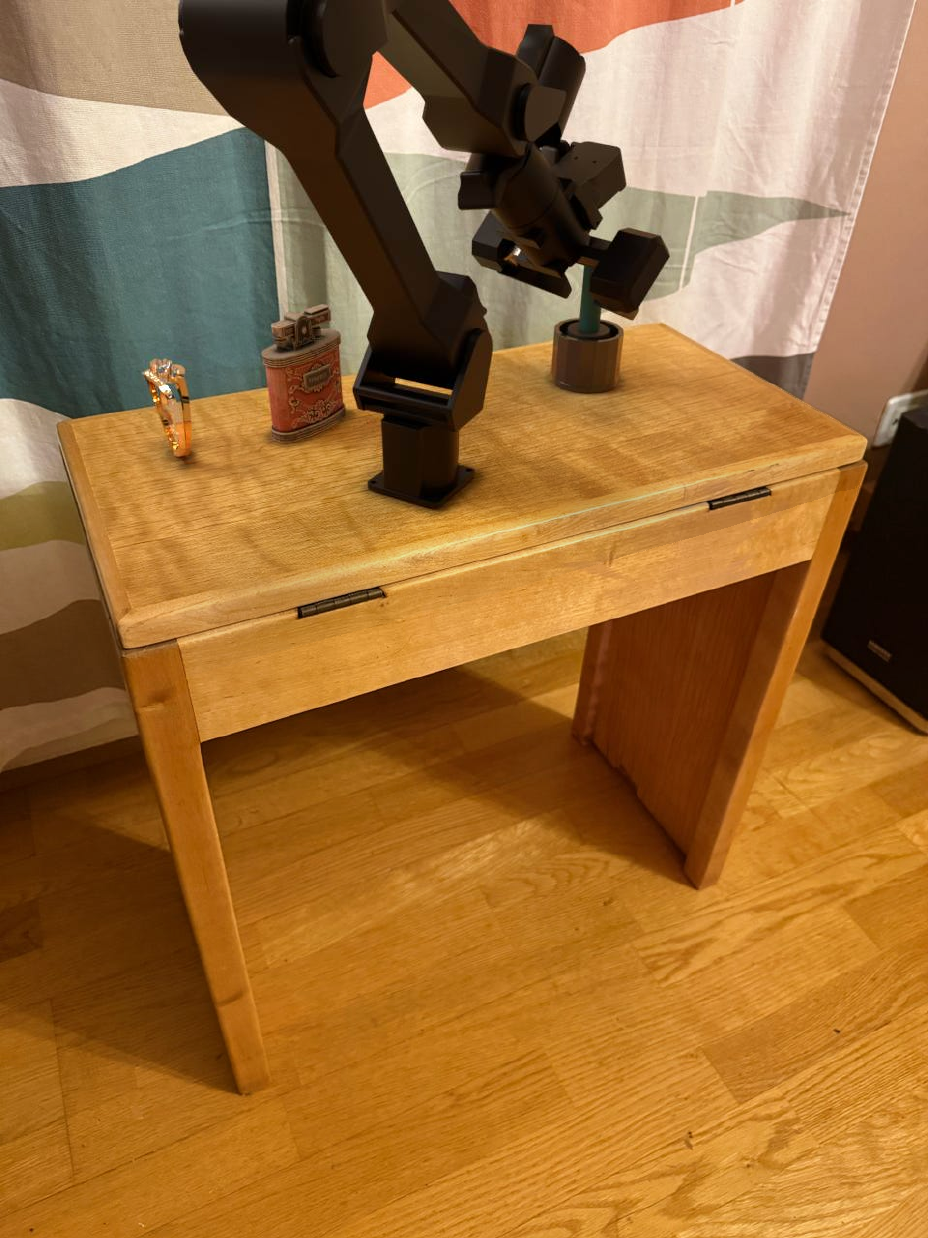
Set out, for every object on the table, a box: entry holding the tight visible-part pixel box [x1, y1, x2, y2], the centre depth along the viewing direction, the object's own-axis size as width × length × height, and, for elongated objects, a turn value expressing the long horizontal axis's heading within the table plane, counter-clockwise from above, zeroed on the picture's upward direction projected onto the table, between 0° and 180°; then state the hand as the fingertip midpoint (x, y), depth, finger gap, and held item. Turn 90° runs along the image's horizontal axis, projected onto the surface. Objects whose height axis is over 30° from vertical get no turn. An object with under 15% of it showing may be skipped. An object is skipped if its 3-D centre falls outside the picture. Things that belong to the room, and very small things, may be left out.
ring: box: [141, 358, 192, 458], centre depth 74 cm, size 7×3×8 cm, turn 27°
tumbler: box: [550, 317, 625, 394], centre depth 88 cm, size 7×7×5 cm
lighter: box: [260, 303, 347, 444], centre depth 78 cm, size 8×3×10 cm, turn 143°
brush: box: [567, 265, 610, 341], centre depth 86 cm, size 4×4×12 cm
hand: (600, 304), depth 87 cm, fingers open, 8 cm apart
